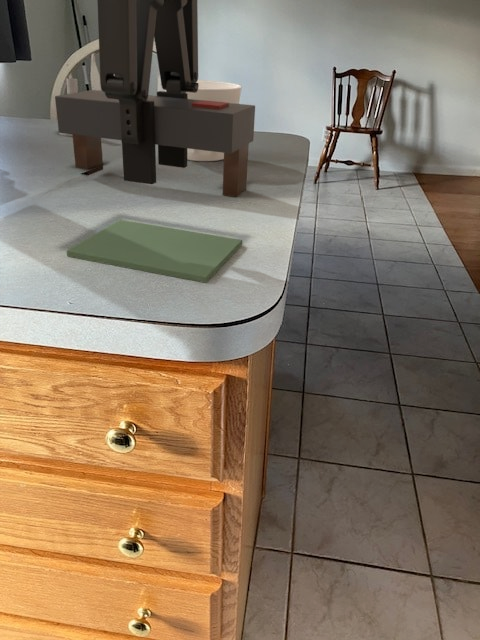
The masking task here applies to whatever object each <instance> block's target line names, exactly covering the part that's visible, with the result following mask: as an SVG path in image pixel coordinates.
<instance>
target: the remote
mask: <svg viewBox="0 0 480 640" xmlns="http://www.w3.org/2000/svg"><path fill="white" fill-rule="evenodd" d="M54 101H55V109H56V121H57V128H58V133H59V134H60V133H65V134H74V135H82V136H90V137H98V138H101V139H107V140H117V141H122V137H121V118H120V103H119V100H118V99H110V98H107V97H106V95H105V92H103V91H102V90H99V89H89V90H83V91H78V92H77V93H71V94H67V93H66V94H60V95H55V96H54ZM147 101H154V115H155V146H158V145H164V146H172V147H181V148H189V149H197V150H205V151H214V152H222V153H230V154H231V153H233V152H235V151H237V150H238V149H240V148H242V147H244V146H245V145H247V144H251V143H252V142H254V136H255V135H254V134H255V133H254V132H255V118H256V117H255V116H256V105H255V104H253V105H252V104H243V103H239V104H235V103H227V102H217V101H206V100H193V99H183V98H172V97H162V96H157V95H150V94H148V99H147Z"/></svg>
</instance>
